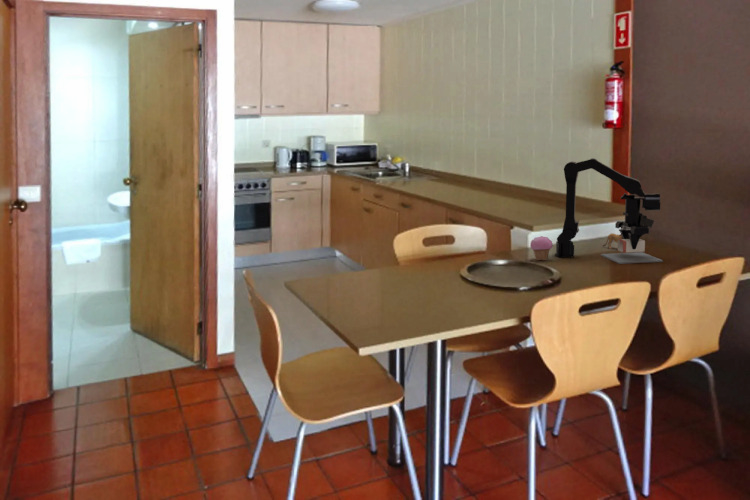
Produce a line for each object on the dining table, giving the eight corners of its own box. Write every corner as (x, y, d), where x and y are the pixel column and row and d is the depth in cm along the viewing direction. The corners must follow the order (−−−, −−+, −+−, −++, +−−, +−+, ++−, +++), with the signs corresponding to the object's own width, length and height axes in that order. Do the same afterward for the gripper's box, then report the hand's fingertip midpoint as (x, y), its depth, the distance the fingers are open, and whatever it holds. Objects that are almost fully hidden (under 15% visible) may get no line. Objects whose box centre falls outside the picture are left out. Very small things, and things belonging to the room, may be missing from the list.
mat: (618, 263, 265) (619, 262, 265) (600, 255, 283) (600, 254, 283) (662, 261, 266) (663, 260, 266) (642, 253, 284) (642, 252, 284)
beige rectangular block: (644, 251, 272) (645, 240, 271) (623, 252, 271) (623, 241, 270) (638, 249, 277) (639, 238, 276) (617, 250, 276) (618, 239, 275)
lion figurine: (636, 249, 293) (637, 229, 291) (631, 251, 289) (632, 231, 287) (604, 246, 303) (605, 227, 301) (599, 248, 299) (599, 228, 297)
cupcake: (552, 258, 280) (552, 234, 278) (552, 262, 272) (552, 238, 270) (530, 257, 282) (530, 234, 281) (529, 262, 274) (529, 238, 272)
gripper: (663, 212, 262) (661, 251, 265) (641, 206, 281) (639, 243, 283) (635, 213, 262) (634, 252, 264) (615, 207, 280) (614, 244, 283)
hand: (631, 248), depth 274 cm, fingers closed on beige rectangular block, 5 cm apart
